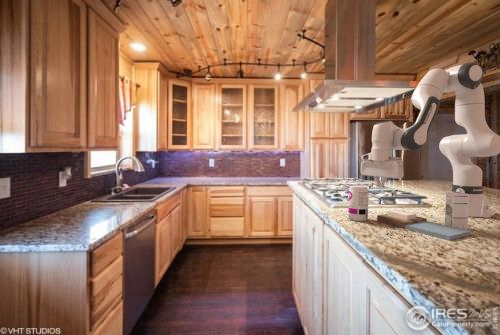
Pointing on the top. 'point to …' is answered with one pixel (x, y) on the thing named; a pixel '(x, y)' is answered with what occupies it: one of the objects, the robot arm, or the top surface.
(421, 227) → the mat
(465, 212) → the syrup box
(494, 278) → the top surface
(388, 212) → the cream rectangular block
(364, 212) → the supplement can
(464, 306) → the top surface
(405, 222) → the brown square tile
